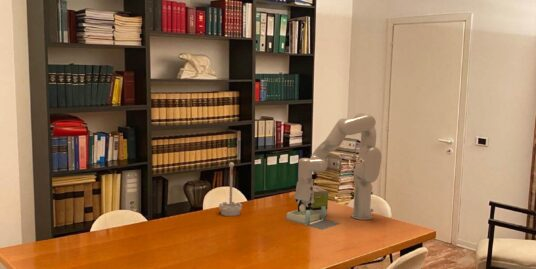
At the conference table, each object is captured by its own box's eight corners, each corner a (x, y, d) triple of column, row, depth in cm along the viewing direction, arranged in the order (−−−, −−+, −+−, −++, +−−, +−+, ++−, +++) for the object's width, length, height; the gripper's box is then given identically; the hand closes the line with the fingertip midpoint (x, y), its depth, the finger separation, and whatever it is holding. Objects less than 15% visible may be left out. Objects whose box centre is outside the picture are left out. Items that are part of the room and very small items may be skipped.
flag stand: (217, 211, 306) (217, 160, 302) (238, 210, 310) (239, 160, 306) (221, 217, 293) (222, 164, 290) (244, 215, 297) (245, 163, 294)
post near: (307, 224, 284) (307, 209, 283) (310, 225, 282) (311, 210, 281) (304, 225, 282) (304, 210, 281) (307, 226, 280) (308, 211, 279)
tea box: (300, 210, 311) (301, 186, 310) (314, 209, 316) (316, 185, 314) (312, 216, 298) (314, 191, 296) (327, 215, 302) (329, 190, 301)
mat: (302, 214, 304) (302, 213, 304) (340, 224, 286) (340, 223, 286) (283, 219, 292) (283, 218, 292) (321, 230, 273) (321, 229, 273)
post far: (322, 219, 294) (323, 205, 293) (326, 220, 292) (326, 206, 291) (320, 220, 292) (320, 206, 291) (323, 221, 290) (324, 207, 289)
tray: (301, 214, 302) (302, 208, 302) (320, 219, 293) (320, 213, 293) (286, 218, 292) (286, 212, 292) (305, 223, 283) (305, 217, 283)
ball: (303, 210, 296) (303, 202, 295) (309, 212, 292) (310, 203, 292) (297, 212, 292) (297, 203, 291) (304, 214, 289) (304, 205, 288)
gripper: (321, 181, 287) (319, 214, 289) (297, 177, 299) (296, 208, 301) (312, 183, 282) (311, 216, 284) (288, 178, 293) (287, 210, 295)
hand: (303, 211), depth 292 cm, fingers closed on ball, 4 cm apart
